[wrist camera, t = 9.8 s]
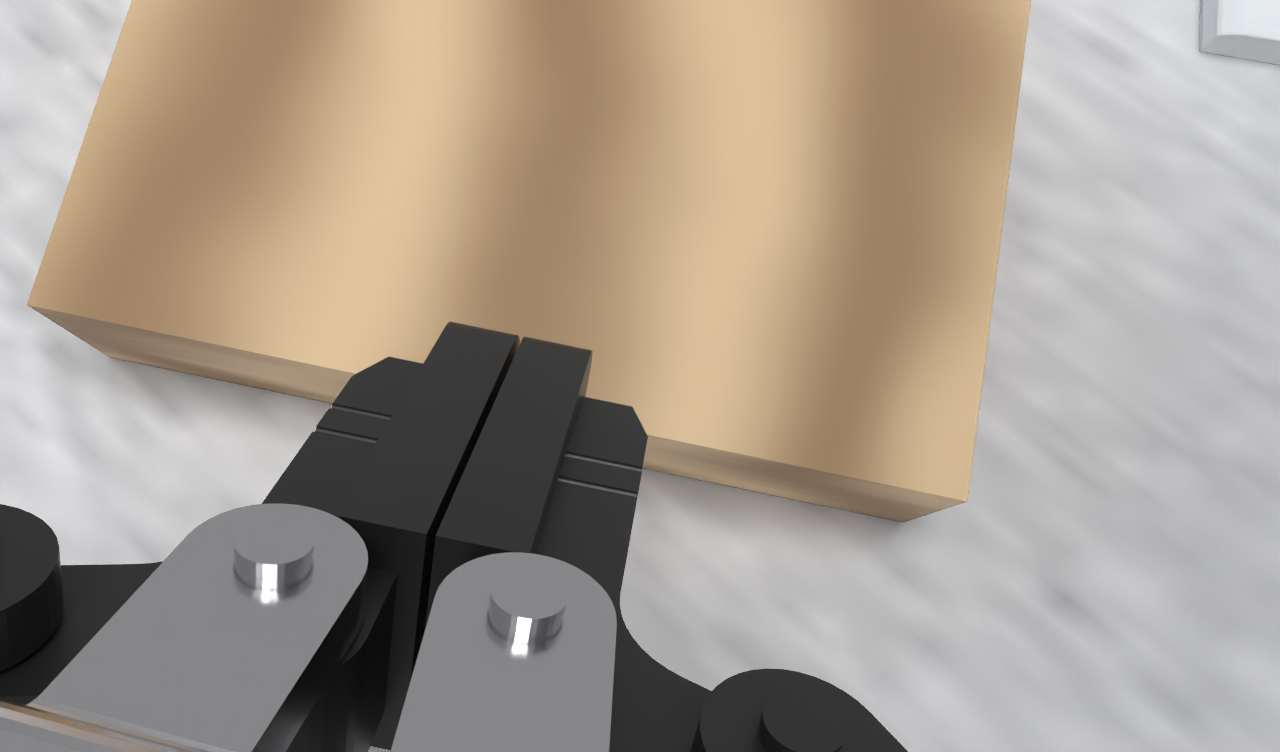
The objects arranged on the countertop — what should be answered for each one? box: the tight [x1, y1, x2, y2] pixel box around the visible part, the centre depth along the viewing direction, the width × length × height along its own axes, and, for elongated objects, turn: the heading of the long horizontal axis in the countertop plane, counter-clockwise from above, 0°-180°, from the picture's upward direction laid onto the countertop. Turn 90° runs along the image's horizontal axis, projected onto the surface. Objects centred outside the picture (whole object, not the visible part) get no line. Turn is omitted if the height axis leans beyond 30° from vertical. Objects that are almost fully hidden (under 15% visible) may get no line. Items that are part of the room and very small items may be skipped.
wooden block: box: [27, 0, 1031, 522], centre depth 24 cm, size 18×11×4 cm, turn 79°
